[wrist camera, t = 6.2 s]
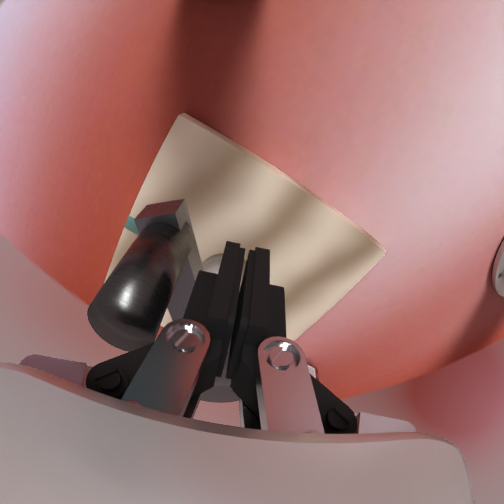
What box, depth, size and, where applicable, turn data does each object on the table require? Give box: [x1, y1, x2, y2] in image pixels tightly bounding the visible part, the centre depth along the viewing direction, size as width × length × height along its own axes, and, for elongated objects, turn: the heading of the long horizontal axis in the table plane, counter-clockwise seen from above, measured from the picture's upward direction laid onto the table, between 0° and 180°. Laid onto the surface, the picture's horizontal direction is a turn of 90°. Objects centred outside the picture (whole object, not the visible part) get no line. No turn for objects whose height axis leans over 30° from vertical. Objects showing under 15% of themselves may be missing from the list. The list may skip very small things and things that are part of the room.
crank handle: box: [87, 199, 239, 402], centre depth 14 cm, size 14×6×7 cm, turn 8°
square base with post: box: [105, 113, 386, 341], centre depth 23 cm, size 20×20×8 cm
